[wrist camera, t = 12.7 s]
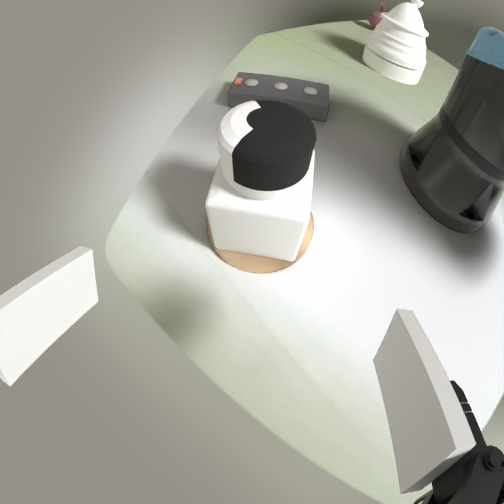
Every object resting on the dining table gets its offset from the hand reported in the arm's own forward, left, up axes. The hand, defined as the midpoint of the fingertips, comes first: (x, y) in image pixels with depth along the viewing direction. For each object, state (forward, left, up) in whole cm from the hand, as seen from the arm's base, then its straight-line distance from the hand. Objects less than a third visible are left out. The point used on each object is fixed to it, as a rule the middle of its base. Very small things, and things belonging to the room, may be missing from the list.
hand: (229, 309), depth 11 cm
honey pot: (-54, -21, -13) cm, 59 cm away
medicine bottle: (-8, -7, -12) cm, 16 cm away
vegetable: (-76, -38, -13) cm, 86 cm away
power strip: (-23, -21, -12) cm, 34 cm away
